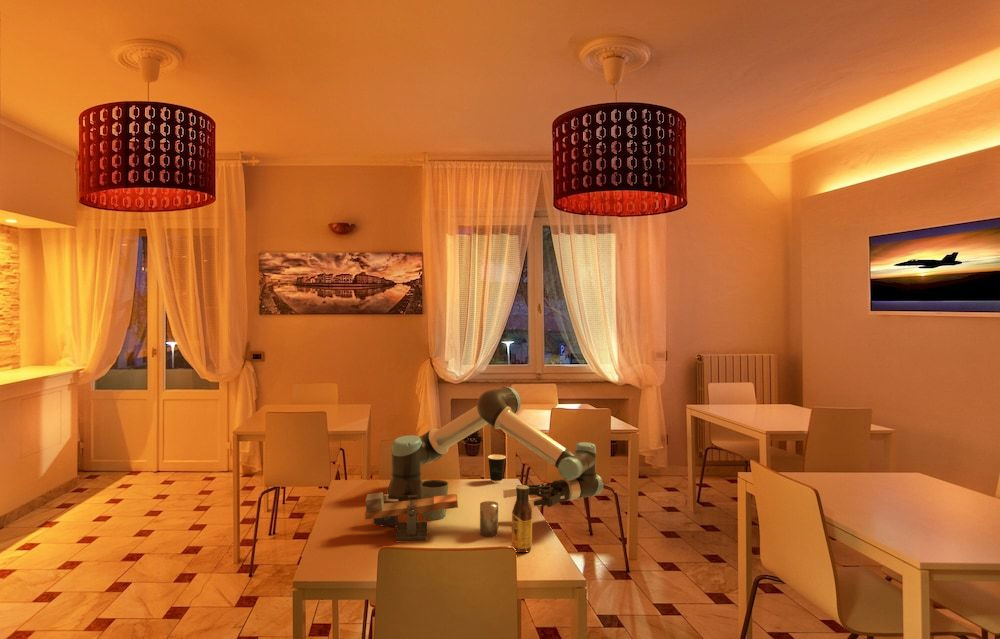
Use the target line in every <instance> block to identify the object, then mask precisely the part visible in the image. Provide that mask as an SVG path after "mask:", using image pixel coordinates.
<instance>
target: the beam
mask: <svg viewBox="0 0 1000 639" xmlns="http://www.w3.org/2000/svg"><path fill="white" fill-rule="evenodd" d="M383 497H384V492H383V491H382V492H375V493H374V492H373V493H367V495H366V498H365V512H364V516H365V518H364V519H365V520H374V518H381V517H389V516H397V515H399V516H402V515H403V516H404V515H407V505H417V507H416V513H417V514H418V513H422V512H427V511H435V510H443V509H446V510H450V509H456V508H459V503H458V495H457V493H452V494H451V493H450V494H447V495H442V496H434V497H432V498H424V499H416V500H414V499H411V500H408V501H399V502H393V503H385V504H384V499H383Z"/></svg>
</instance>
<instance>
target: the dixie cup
mask: <svg viewBox="0 0 1000 639" xmlns="http://www.w3.org/2000/svg"><path fill="white" fill-rule="evenodd" d="M487 458H488V467H489V478H490V482H491V481H492V482H494V483H493V484H501V483H500V481H502V482H503V480H502V479H504V471H505V470H504V469H505V462H506V458H507V457H506V455H503V454H490V455H488V456H487ZM492 482H491V483H492Z"/></svg>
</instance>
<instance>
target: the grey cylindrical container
mask: <svg viewBox="0 0 1000 639" xmlns="http://www.w3.org/2000/svg"><path fill="white" fill-rule="evenodd" d="M448 490H449V481H446V480H442V479H429V480H424V481H423V480H422V483H421V499H424V498H432V497H434V496H442V495H449V494H448V492H449V491H448ZM446 515H447V509H443V510H435V511H427V512H421V516H422V517H421V518H423V519H424V520H426V521H427V520H428V521H438V520H439V521H440V520H443V519H445V518H446ZM444 517H445V518H444Z"/></svg>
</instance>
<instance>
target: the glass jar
mask: <svg viewBox="0 0 1000 639" xmlns="http://www.w3.org/2000/svg"><path fill="white" fill-rule="evenodd" d="M497 534H498V535H499V503H498V502H497V501H491V500H489V501H488V500H486V501H482V502H480V503H479V535H480V537H484V538H494V537H493V536H495V537H496V535H497ZM498 535H497V536H498Z"/></svg>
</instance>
